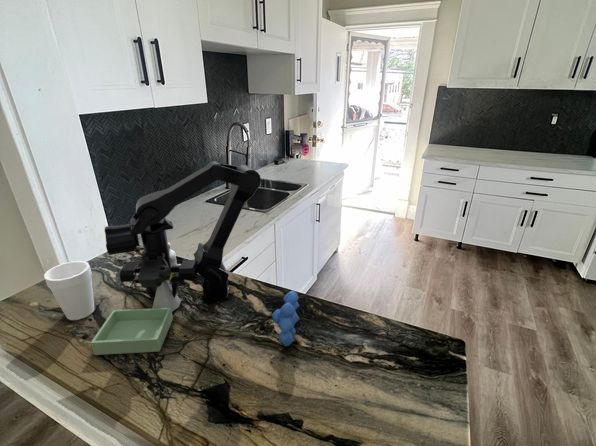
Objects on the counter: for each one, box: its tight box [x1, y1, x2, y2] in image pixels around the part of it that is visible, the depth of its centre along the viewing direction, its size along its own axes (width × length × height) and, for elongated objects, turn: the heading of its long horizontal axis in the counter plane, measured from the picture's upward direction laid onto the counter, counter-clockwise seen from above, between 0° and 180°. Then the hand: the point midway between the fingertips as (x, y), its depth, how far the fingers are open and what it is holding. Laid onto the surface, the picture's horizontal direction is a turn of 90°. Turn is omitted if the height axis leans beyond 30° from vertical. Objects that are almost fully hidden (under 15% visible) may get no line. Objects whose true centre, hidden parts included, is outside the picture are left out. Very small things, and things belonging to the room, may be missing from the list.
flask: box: [151, 280, 182, 312], centre depth 85 cm, size 7×7×10 cm
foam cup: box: [43, 260, 95, 321], centre depth 81 cm, size 10×9×13 cm
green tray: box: [90, 308, 174, 356], centre depth 75 cm, size 14×11×4 cm
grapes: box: [271, 290, 300, 347], centre depth 74 cm, size 12×7×12 cm, turn 170°
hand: (165, 297), depth 85 cm, fingers closed on flask, 5 cm apart
